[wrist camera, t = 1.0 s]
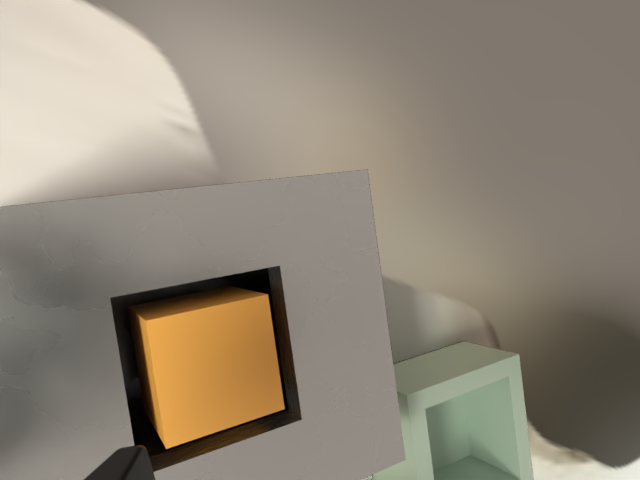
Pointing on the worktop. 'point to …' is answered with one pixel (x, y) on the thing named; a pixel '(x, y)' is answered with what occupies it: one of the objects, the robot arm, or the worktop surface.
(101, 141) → the worktop surface
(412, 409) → the holder cup
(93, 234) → the grey block with hole
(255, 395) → the button
